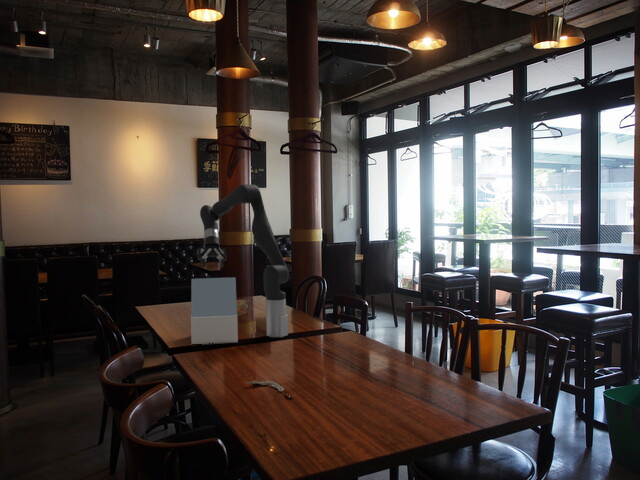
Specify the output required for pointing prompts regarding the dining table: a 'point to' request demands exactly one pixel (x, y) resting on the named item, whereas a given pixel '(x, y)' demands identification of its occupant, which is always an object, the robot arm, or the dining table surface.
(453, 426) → the dining table surface
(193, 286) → the lid flap
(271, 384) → the jawbone
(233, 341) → the carton
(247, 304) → the tin
